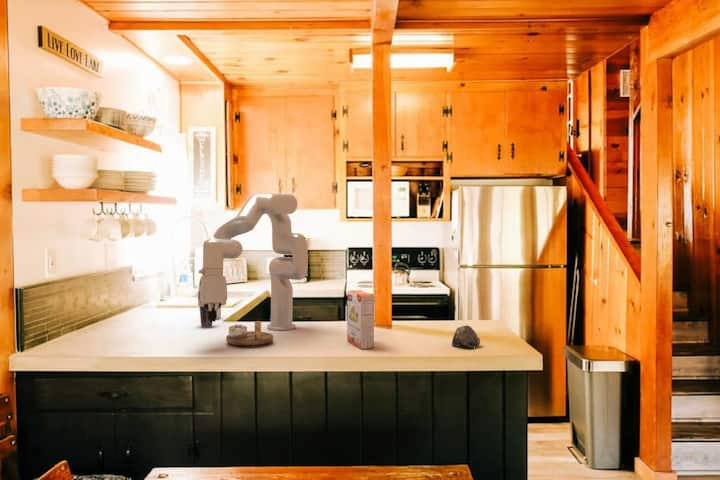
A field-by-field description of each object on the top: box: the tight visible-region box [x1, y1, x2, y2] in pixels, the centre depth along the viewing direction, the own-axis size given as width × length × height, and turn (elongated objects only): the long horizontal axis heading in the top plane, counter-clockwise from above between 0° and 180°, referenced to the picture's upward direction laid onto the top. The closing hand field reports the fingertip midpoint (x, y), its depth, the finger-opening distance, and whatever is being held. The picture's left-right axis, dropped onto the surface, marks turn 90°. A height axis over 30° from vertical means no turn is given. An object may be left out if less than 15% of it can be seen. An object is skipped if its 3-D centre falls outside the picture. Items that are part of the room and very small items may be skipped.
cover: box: [228, 324, 248, 339], centre depth 226 cm, size 7×7×5 cm
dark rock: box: [451, 325, 481, 349], centre depth 230 cm, size 11×9×10 cm
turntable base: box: [238, 344, 263, 347], centre depth 229 cm, size 11×11×1 cm
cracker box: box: [346, 289, 375, 350], centre depth 228 cm, size 14×6×21 cm, turn 23°
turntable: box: [226, 320, 274, 346], centre depth 229 cm, size 18×18×8 cm
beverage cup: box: [197, 300, 213, 329], centre depth 258 cm, size 7×7×20 cm
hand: (211, 321), depth 219 cm, fingers closed
